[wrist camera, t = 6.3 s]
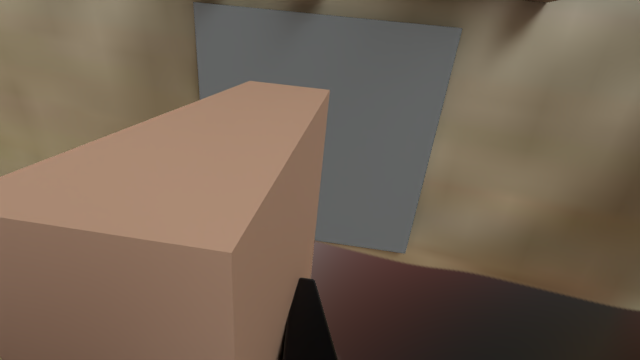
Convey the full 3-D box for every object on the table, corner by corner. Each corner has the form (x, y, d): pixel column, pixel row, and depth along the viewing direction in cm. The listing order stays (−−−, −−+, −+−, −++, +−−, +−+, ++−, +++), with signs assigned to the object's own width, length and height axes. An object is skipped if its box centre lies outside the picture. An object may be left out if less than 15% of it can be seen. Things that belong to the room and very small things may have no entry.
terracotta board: (329, 89, 10) (231, 253, 2) (307, 307, 13) (244, 627, 6) (249, 80, 10) (-75, 205, 2) (250, 297, 14) (122, 598, 6)
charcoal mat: (459, 28, 16) (462, 28, 16) (404, 249, 22) (405, 253, 22) (197, 2, 17) (193, 2, 17) (211, 221, 23) (208, 224, 23)
